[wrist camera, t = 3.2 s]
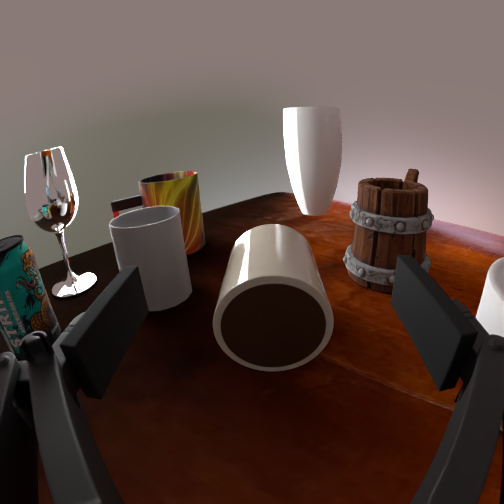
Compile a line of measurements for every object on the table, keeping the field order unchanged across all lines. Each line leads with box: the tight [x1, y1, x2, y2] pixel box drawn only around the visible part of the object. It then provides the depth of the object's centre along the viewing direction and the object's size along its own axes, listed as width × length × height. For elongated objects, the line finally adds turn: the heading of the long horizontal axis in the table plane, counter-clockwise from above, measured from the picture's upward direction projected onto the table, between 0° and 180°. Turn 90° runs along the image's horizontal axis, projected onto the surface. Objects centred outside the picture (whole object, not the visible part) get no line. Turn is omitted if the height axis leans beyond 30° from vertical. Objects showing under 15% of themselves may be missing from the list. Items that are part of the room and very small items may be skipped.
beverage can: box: [0, 235, 61, 360], centre depth 25 cm, size 7×7×12 cm
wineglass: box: [25, 147, 96, 298], centre depth 36 cm, size 8×8×20 cm
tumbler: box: [213, 224, 334, 371], centre depth 27 cm, size 11×9×9 cm
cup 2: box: [283, 107, 342, 216], centre depth 52 cm, size 10×10×22 cm
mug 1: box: [111, 171, 205, 255], centre depth 48 cm, size 10×14×12 cm
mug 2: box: [343, 169, 434, 293], centre depth 37 cm, size 12×14×15 cm
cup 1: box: [109, 206, 192, 311], centre depth 36 cm, size 8×8×10 cm
